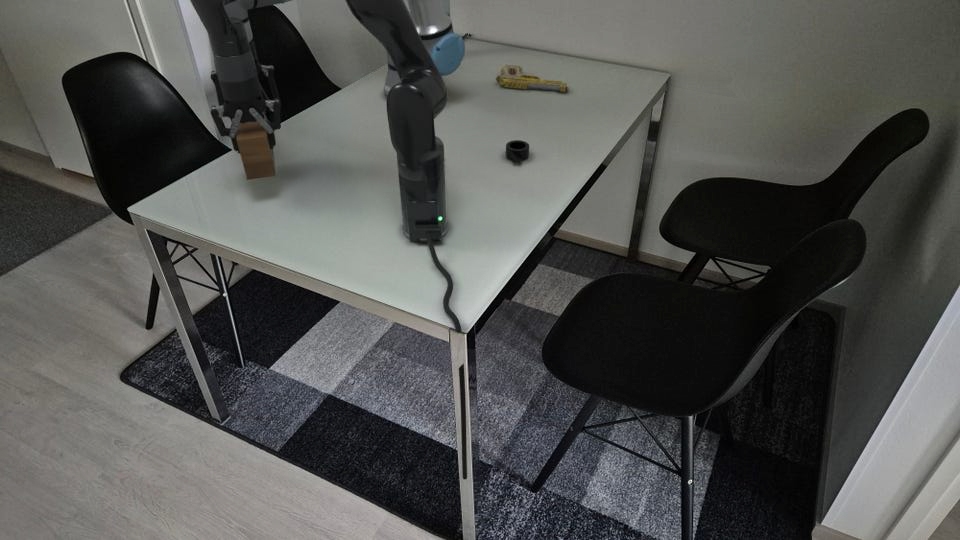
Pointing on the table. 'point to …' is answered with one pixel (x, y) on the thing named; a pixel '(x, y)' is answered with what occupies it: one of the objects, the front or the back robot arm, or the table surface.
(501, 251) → the table surface
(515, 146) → the duct tape
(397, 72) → the front robot arm
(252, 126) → the box
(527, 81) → the handgun
